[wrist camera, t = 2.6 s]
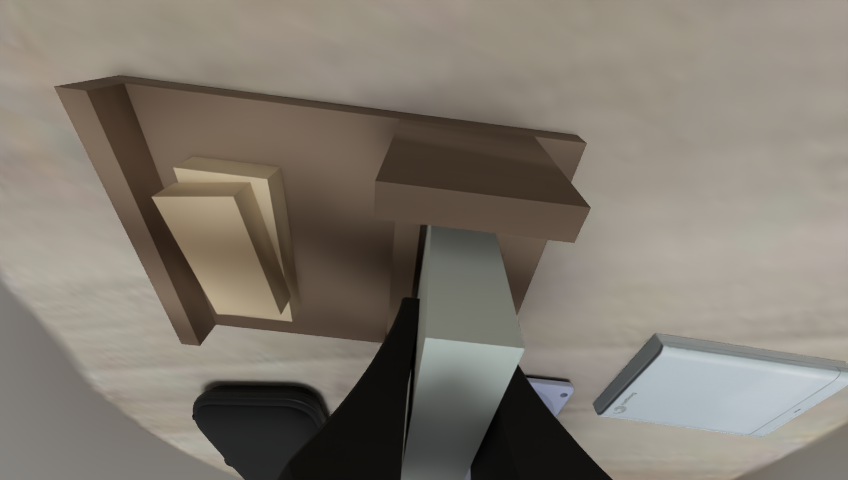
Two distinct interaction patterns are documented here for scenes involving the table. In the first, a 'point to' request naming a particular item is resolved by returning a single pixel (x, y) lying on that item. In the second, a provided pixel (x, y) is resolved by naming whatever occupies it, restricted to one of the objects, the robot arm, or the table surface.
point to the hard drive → (718, 386)
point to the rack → (328, 193)
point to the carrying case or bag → (258, 425)
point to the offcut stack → (234, 235)
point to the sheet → (458, 352)
